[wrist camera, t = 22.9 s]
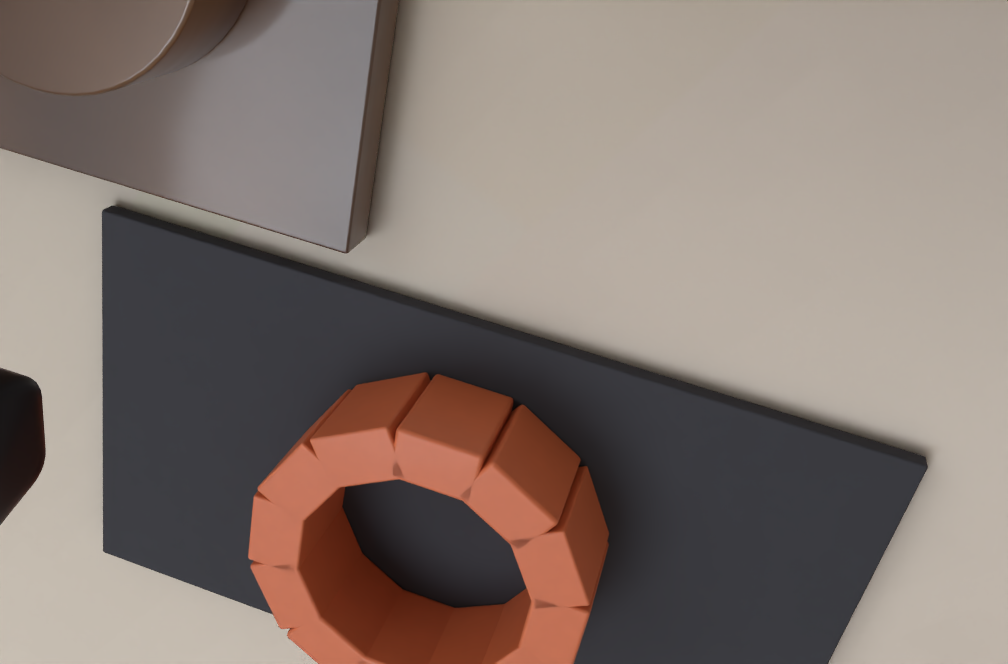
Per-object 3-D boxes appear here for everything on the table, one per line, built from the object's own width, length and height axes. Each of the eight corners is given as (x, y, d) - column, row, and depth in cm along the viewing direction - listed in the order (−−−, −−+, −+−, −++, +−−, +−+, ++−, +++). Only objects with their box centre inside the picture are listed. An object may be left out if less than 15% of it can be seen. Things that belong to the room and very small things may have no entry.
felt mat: (926, 456, 19) (928, 467, 18) (761, 782, 23) (760, 795, 23) (112, 204, 21) (101, 209, 21) (111, 543, 26) (102, 552, 26)
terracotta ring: (643, 437, 20) (626, 503, 18) (563, 683, 23) (540, 763, 21) (315, 332, 21) (262, 384, 19) (286, 583, 24) (238, 649, 22)
